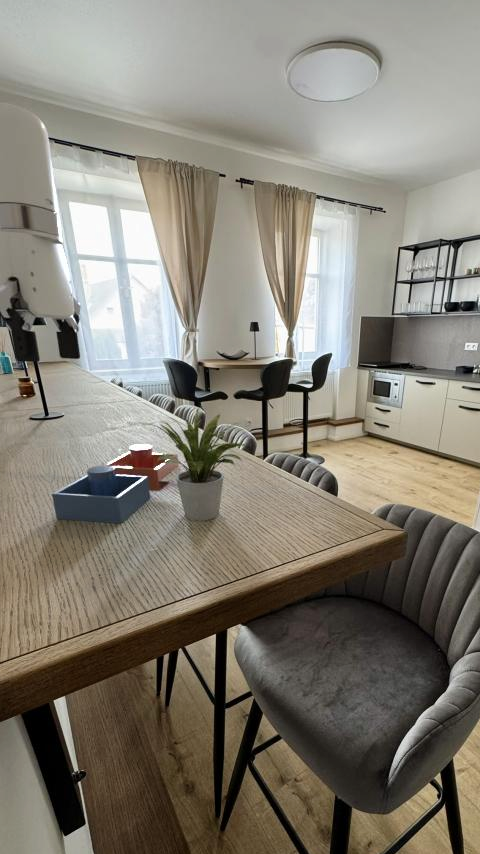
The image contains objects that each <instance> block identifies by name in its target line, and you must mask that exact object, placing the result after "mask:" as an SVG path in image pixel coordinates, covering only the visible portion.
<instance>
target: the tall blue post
mask: <svg viewBox="0 0 480 854" xmlns="http://www.w3.org/2000/svg"><path fill="white" fill-rule="evenodd" d="M86 473H87V474H88V480H89V486H90V493H91V495H99V496H115V497H116V496H118V495H119V493H118V486H117V478H116V471H115V467H113V466H104V465H96V466H92V467H89V468H88V469H86ZM87 474H86V475H87Z"/></svg>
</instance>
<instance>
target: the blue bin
mask: <svg viewBox="0 0 480 854" xmlns="http://www.w3.org/2000/svg"><path fill="white" fill-rule="evenodd" d="M116 478H117V486H118V493H119V495H118V496H116V497H115V496H99V495H91V493H90V486H89V480H88V474H86V475H84V476H82V477H79V479H76V480H75V481H73V482H71V483H69V484H67V485H66V486H63V487H62V488H59V489H58V490H57V491H54V492H53V493H51V498H52V502H53V508H54V513H55V517H56V520H67V521H83V522H97V523H110V524H123V523H124V522H125V521H127V519H128V518H130V517H131V516H132V515H133V514H134V513H135V512H136V511H138V510H139V509H140V508H141V507H142V506H144V504H146V503H147V502H148V501H150V499H151V495H150V494H151V493H150V490H149V482H148V476H133V475H116Z"/></svg>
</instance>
